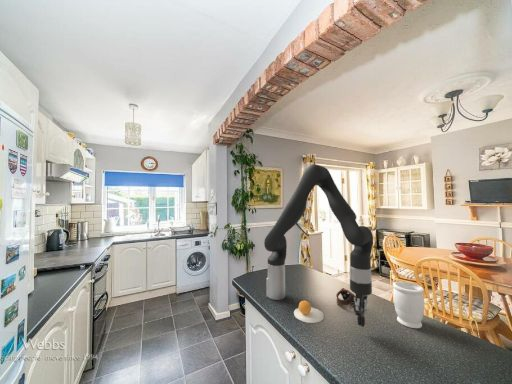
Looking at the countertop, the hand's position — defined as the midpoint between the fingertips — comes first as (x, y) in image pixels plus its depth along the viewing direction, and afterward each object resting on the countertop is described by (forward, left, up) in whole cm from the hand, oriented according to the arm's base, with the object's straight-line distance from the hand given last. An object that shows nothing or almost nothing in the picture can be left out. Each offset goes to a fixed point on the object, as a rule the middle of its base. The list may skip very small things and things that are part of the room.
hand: (361, 325), depth 78 cm
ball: (-22, +5, -1) cm, 23 cm away
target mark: (-21, +5, -3) cm, 22 cm away
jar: (+18, +16, -4) cm, 25 cm away
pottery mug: (-6, +22, -4) cm, 23 cm away
